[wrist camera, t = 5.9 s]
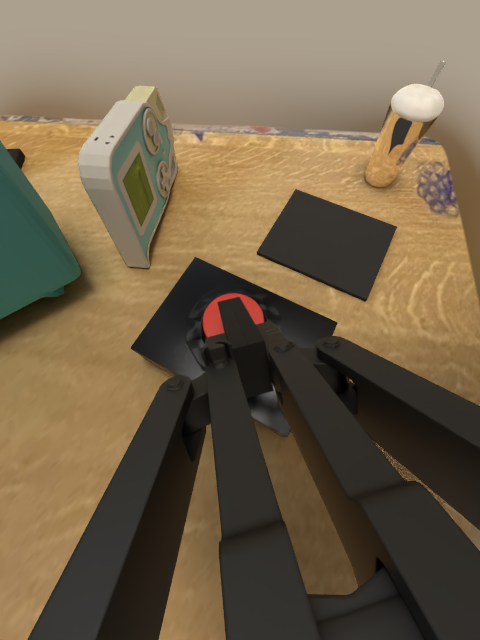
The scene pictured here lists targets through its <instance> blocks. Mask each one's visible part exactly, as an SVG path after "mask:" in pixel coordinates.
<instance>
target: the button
mask: <svg viewBox="0 0 480 640" xmlns="http://www.w3.org/2000/svg"><path fill="white" fill-rule="evenodd" d="M235 297H240V298H241V300H242V302H243V303H244V305H245V307H246V309H247V310H248V312H249V314H250V316H251V317H252V319H253V321H254V323H255V324H259V323H263V322H264V315H263V312H262V310H261V308H260V306H259V305H258V304H257V303H256V302H255V301H254V300H253V299H251V298H250V297H248V296H246V295H243V294H238V293H230V294H225V295H222V296H220V297H218V298H216V299H215V300H213V301H212V302H211V303H210V304H209V306H208V307H207V308H206V310H205V312H204V315H203V330H204V333H205V335H206V337H207V338H208V337H210V336H214V335H218V334H222V333H225V332H224V328H223V324H222V320H221V315H220V311H219V307H218V303H217V302H219V301H223V300H227V299H231V298H235Z"/></svg>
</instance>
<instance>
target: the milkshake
mask: <svg viewBox="0 0 480 640" xmlns="http://www.w3.org/2000/svg"><path fill="white" fill-rule="evenodd" d="M444 65H445V62H443V61H440V63H439V65H438V66H437V68H436V70H435V72H434V74H433V75H432V77H431V79H430V81H429V82H428V84H427V86H425V85H421V84H411V85H408V86H406V87H404V88H402V89H400V90H399V91H398V92H397V93H396V94H395V95H394V96H393V98H392V100H391V103H390V106H389V110H388V112H387V115H386V118H385V120H384V123H383V126H382V129H381V132H380V134H379V137H378V140H377V142H376V145H375V148H374V150H373V153H372V156H371V158H370V161H369V164H368V166H367V169H366V172H365V178H366V181H367V182H368V183H369V184H371V185H372V186H376V187H380V188H381V187H385V186H388V185H389V184H390V183H391V181H392V180H393V179H394V177H395V176H396V174H397V173H398V171H399V170H400V168H401V167H402V166H403V164H404V163H405V161H406V160H407V158H408V157H409V155H410V154H411V152H412V151H413V149H414V148H415V147H416V145H417V144H418V143H419V142H420V140H421V139H422V138H423V136H424V135H425V134H426V132H427V130H428V129H429V128H430V127H431V125H432V124H433V123H434V121H435V120H436V119H437V117H438V116H439V114H440V113H441V111H442V110H443V107H444V99H443V97H442V96H441V94H440V92H439V91H438V90H436V89H432V88H431V87H432V86H433V84H434V82H435V80H436V78H437V77H438V75H439V73H440V72H441V70H442V68H443V67H444Z"/></svg>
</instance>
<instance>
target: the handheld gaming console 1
mask: <svg viewBox="0 0 480 640" xmlns="http://www.w3.org/2000/svg"><path fill="white" fill-rule="evenodd" d="M6 150H7V151H8V152H9V154H10V155H11V157H12V158H13V160H14V161H15V162H16V164H17V165H18V167H19V168H20V169H21V166H22V163H23V160H24V157H25V156H24V154H23V153H22V151H21V150H20V149H6Z"/></svg>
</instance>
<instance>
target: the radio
mask: <svg viewBox="0 0 480 640" xmlns="http://www.w3.org/2000/svg"><path fill="white" fill-rule="evenodd" d="M80 275H81V270H80V266H79V265H78V263H77V261H76V259H75V257H74V255H73V253H72V251H71V249H70V247H69V246H68V244H67V242H66V240H65V238H64V236H63V234H62V232H61V230H60V229H59V227H58V225H57V223H56V221H55V219H54V217H53V215H52V213H51V212H50V210H49V209H48V207H47V206H46V205H45V203H44V202H43V200H42V199H41V198H40V196H39V195H38V193H37V192H36V190H35V189H34V188H33V186H32V185H31V183H30V182H29V181H28V179H27V178H26V176H25V175H24V174H23V172H22V171H21V169H20V168H19V167H18V165H17V164H16V162H15V161H14V160H13V158H12V157H11V155H10V154H9V152H8V151H7V150H6V148H5V147H4V145H3V144H2V143H1V141H0V319H2V318H4V317H5V316H7V315H9V314H11V313H13V312H15V311H17V310H19V309H21V308H23V307H24V306H26V305H28V304H30V303H32V302H34V301H36V300H38V299H40V298H42V297H58V296H60V295H62V294H64V293H65V291H64V287H63V286H64V285H66V284H68V283H70V282H72V281H74V280H76V279H77V278H78V277H79V276H80Z"/></svg>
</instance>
